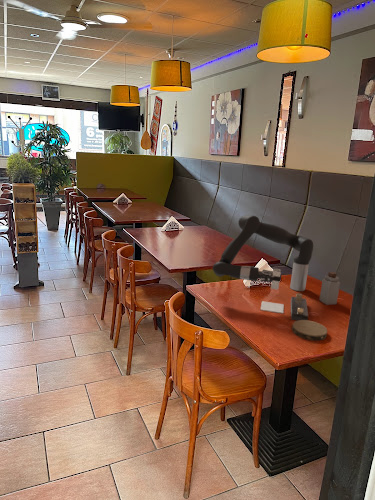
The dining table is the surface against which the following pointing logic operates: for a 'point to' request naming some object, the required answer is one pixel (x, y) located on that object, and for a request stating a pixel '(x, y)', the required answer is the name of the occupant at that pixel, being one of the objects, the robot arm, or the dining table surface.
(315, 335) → the brown round disc
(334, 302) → the perfume bottle
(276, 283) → the lever cap
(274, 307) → the rubber mat
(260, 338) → the dining table surface
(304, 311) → the hand plane
